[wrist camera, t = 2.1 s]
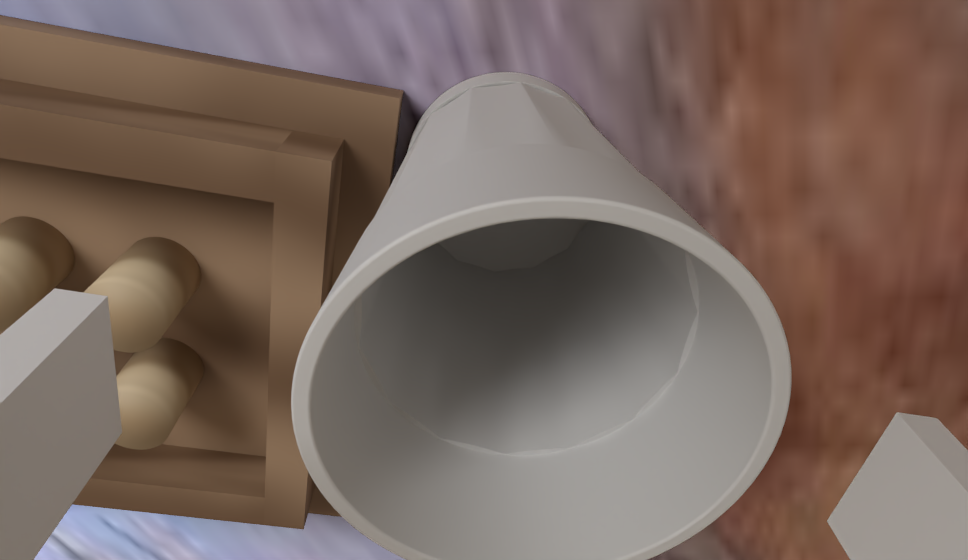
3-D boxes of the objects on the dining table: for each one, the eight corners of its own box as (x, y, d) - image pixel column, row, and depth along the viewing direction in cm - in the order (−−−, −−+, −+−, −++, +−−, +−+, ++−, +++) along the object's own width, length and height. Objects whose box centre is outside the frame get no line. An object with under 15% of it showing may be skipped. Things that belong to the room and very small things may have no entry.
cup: (586, 295, 23) (684, 604, 13) (366, 257, 22) (277, 558, 12) (660, 74, 19) (890, 256, 9) (399, 16, 18) (310, 143, 8)
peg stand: (-254, -33, 17) (-436, -21, 14) (403, 90, 19) (389, 128, 16) (-91, 448, 26) (-177, 530, 23) (351, 498, 28) (335, 580, 25)
